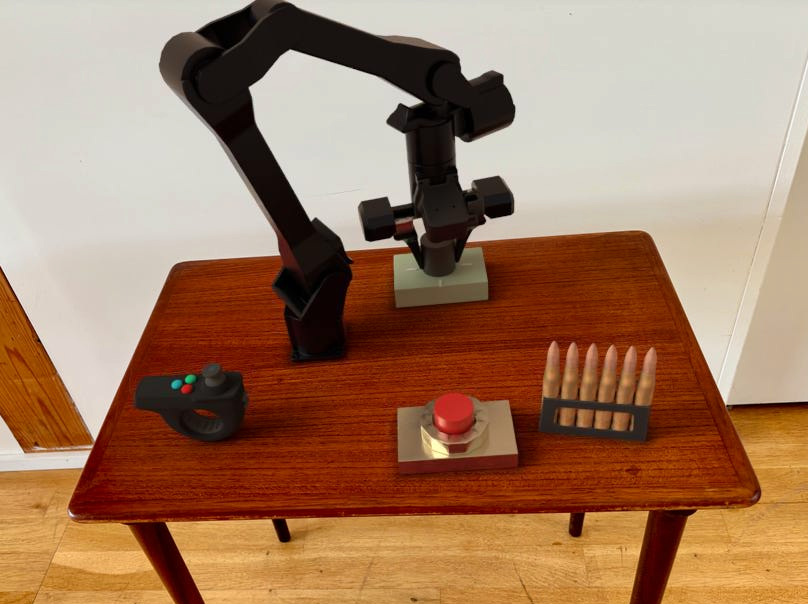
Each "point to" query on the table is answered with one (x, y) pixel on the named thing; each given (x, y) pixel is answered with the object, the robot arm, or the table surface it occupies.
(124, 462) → the table surface
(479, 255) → the dial panel
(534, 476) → the table surface
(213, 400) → the controller
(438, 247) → the dial
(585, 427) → the ammunition clip
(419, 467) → the button housing
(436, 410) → the press knob
